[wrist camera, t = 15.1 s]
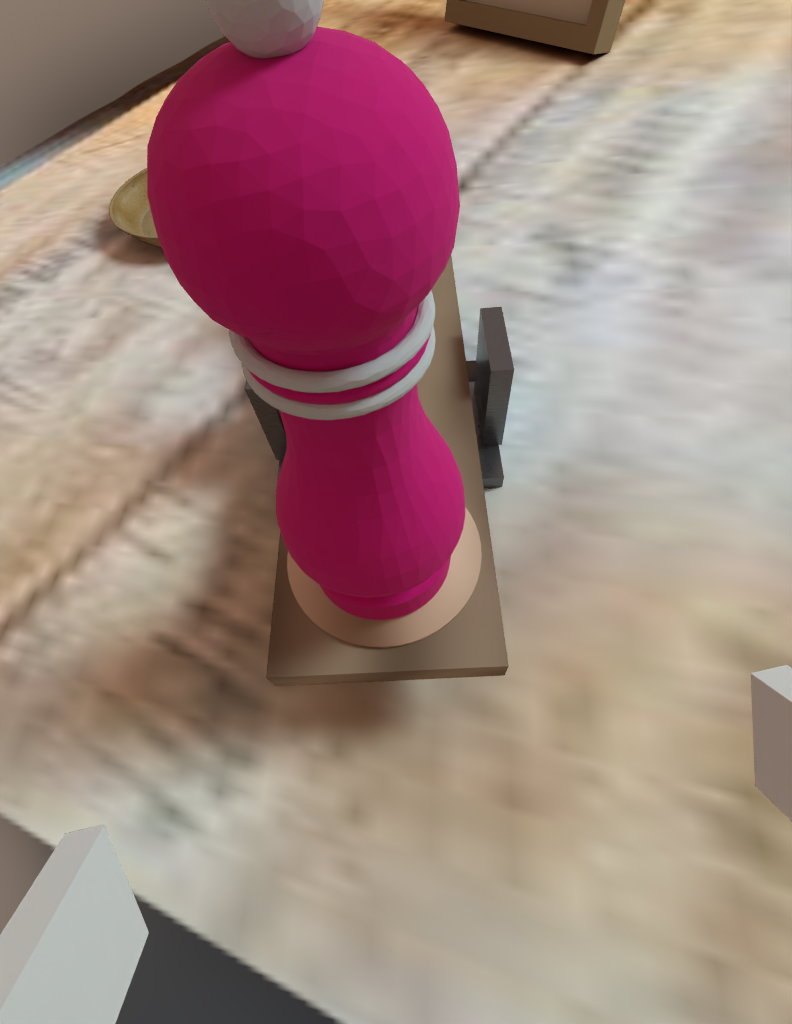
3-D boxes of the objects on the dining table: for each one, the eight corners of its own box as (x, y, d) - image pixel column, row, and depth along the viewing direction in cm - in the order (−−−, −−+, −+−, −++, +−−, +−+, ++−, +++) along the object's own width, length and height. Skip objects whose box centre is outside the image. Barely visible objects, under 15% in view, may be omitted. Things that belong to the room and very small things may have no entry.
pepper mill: (285, 619, 23) (-171, -2, 6) (325, 483, 26) (117, -147, 9) (451, 644, 22) (497, -28, 5) (469, 498, 25) (531, -182, 8)
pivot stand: (486, 370, 38) (495, 279, 31) (505, 486, 33) (521, 405, 26) (289, 385, 38) (259, 298, 32) (277, 500, 33) (239, 425, 27)
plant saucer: (95, 259, 49) (78, 232, 47) (162, 175, 56) (151, 148, 54) (241, 269, 46) (231, 241, 44) (292, 180, 54) (286, 152, 51)
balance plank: (450, 217, 41) (451, 153, 37) (518, 674, 23) (534, 643, 19) (308, 229, 41) (294, 168, 37) (262, 686, 23) (227, 658, 19)
